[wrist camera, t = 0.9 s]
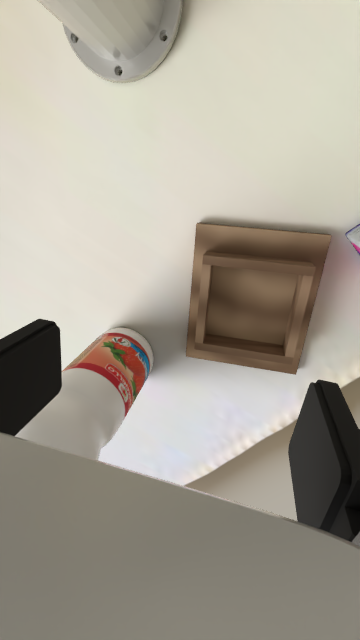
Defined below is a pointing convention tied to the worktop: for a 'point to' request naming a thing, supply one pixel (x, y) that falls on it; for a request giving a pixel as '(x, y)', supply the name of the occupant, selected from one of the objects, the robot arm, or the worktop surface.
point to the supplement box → (354, 237)
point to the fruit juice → (94, 394)
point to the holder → (253, 294)
